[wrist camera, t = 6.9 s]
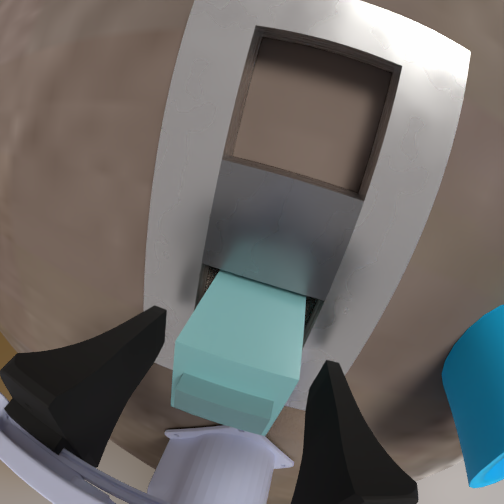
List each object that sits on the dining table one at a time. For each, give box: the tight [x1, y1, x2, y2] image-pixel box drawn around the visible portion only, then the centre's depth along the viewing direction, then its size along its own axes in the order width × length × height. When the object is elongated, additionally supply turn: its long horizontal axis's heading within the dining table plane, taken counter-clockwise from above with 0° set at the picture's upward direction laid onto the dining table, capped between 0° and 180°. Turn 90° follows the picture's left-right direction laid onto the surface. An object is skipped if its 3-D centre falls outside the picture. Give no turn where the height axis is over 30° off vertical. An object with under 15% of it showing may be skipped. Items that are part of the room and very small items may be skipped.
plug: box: [171, 269, 306, 436], centre depth 12 cm, size 4×4×7 cm
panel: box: [144, 0, 470, 411], centre depth 12 cm, size 20×11×2 cm, turn 167°
